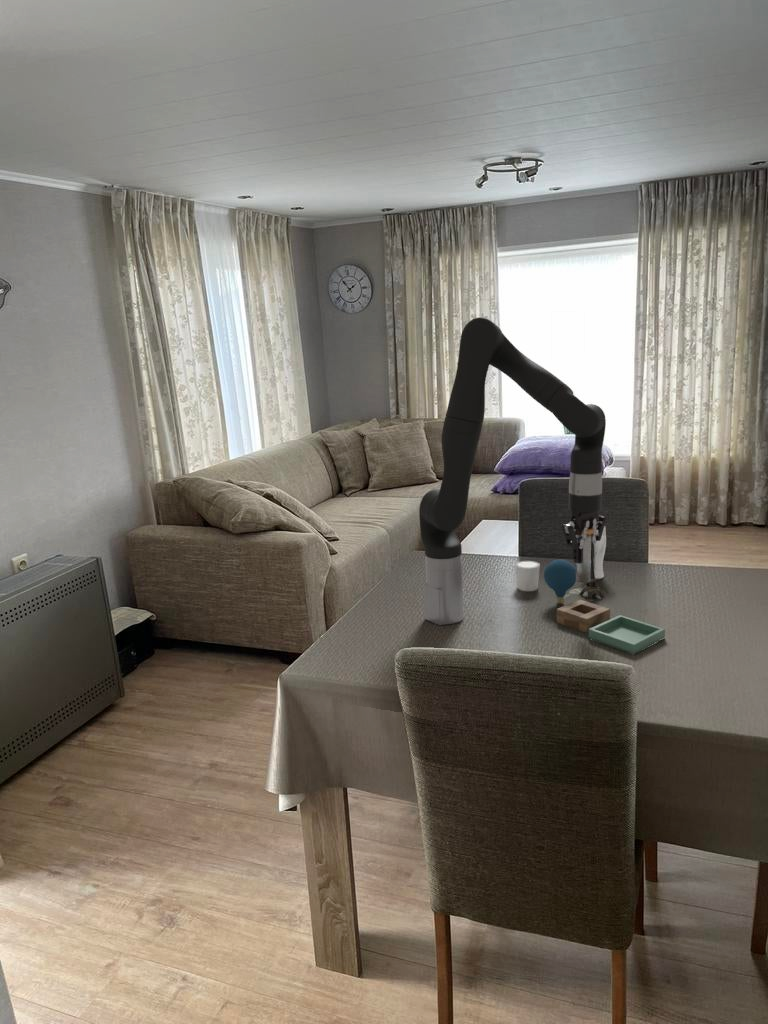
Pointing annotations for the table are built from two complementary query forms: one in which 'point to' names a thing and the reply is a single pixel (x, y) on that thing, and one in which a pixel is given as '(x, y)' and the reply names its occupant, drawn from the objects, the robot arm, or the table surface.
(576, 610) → the socket block
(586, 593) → the eiffel tower figurine
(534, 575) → the white cylinder
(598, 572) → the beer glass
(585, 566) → the pin
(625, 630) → the tray
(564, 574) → the light bulb
